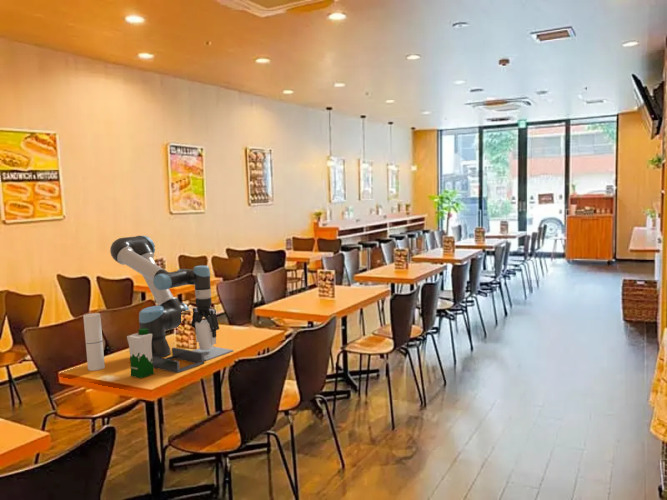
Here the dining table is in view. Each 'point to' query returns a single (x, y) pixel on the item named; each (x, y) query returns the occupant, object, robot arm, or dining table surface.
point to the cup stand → (174, 365)
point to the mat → (213, 352)
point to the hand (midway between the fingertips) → (206, 342)
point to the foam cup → (203, 334)
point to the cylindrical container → (94, 341)
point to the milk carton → (141, 353)
